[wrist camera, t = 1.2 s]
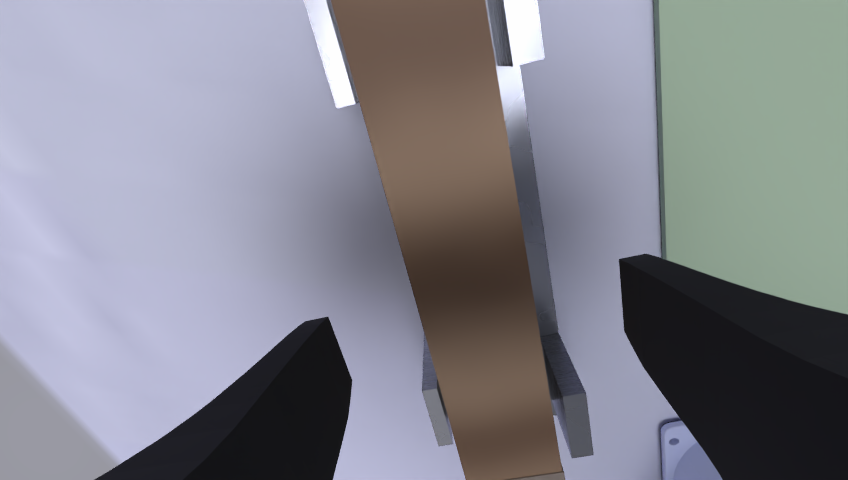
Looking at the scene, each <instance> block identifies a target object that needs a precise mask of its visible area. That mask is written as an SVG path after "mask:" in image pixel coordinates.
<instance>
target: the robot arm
mask: <svg viewBox="0 0 848 480" xmlns="http://www.w3.org/2000/svg"><path fill="white" fill-rule="evenodd" d="M619 266H620V279H621V293H622V306H623V319H624V331H625V333H626V335H627V337H628V339H629V341H630V343H631V345H632V347H633V349H634V351H635V353H636V354H637V356H638V358H639V360H640V362H641V364H642V365H643V367H644V369H645V370H646V371H647V373H648V374H649V376H650V377H651V378H652V380H653V381H654V383H655V384H656V385H657V387H658V388H659V390H660V391H661V392H662V394H663V395H664V397H665V398H666V399H667V401H668V402H669V403H670V405H671V406H672V408H673V409H674V410H675V412H676V413H677V414H678V416H679V417H680V419H681V420H682V421H677V422H670V423H667V424H665V425H664V426H663V427H662V428H661V449H662V472H663V480H848V314H844V313H839V312H835V311H831V310H826V309H822V308H818V307H813V306H809V305H806V304H802V303H798V302H794V301H790V300H787V299H783V298H780V297H777V296H773V295H770V294H767V293H763V292H760V291H756V290H753V289H750V288H747V287H744V286H741V285H737V284H734V283H731V282H728V281H725V280H723V279H720V278H717V277H714V276H711V275H708V274H705V273H702V272H700V271H697V270H694V269H691V268H688V267H686V266H683V265H680V264H677V263H674V262H671V261H668V260H665V259H662V258H659V257H656V256H652V255H648V254H643V255H638V256H633V257H628V258H622V259H619ZM351 387H352V379H351V376H350V374H349V371H348V368H347V366H346V363H345V360H344V358H343V355H342V352H341V350H340V347H339V344H338V342H337V339H336V336H335V334H334V331H333V328H332V326H331V323H330V320H329V318H328V317H325V318H320V319H315V320H310V321H305V322H304V323H302V324H301V325H300V326H298V327H297V328H296V329H295V330H293V331H292V332H291V333H290V334H289V335H287V336H286V337H285V338H284V339H283V340H282V341H281V342H280V343H278V344H277V345H276V346H275V347H274V348H273V349H272V350H271V351H270V352H268V353H267V354H266V355H265V356H264V357H263V358H262V359H261V360H259V361H258V362H257V363H256V364H255V365H254V366H253V367H252V368H250V369H249V370H248V371H247V372H246V373H245V374H244V375H242V376H241V377H240V378H239V379H238V380H236V381H235V382H234V383H233V384H232V385H230V386H229V387H228V388H227V389H226V390H224V391H223V392H222V393H221V394H220V395H218V396H217V397H216V398H215V399H214V400H212V401H211V402H210V403H209V404H207V405H206V406H205V407H203V408H202V409H201V410H199V411H198V412H197V413H195V414H194V415H193V416H192V417H190V418H189V419H187V420H186V421H185V422H183V423H182V424H180V425H179V426H178V427H176V428H175V429H173V430H172V431H171V432H169V433H168V434H166V435H165V436H163V437H162V438H160V439H159V440H158V441H156V442H154V443H153V444H151V445H150V446H148V447H146V448H145V449H143V450H142V451H140V452H139V453H137V454H135V455H134V456H132V457H131V458H129V459H128V460H126V461H124V462H123V463H121V464H120V465H118V466H117V467H115V468H113V469H112V470H110V471H109V472H107V473H105V474H104V475H102V476H100V477H98V478H97V479H95V480H333V476H334V472H335V468H336V464H337V461H338V457H339V453H340V449H341V445H342V441H343V437H344V433H345V428H346V424H347V420H348V414H349V406H350V397H351Z"/></svg>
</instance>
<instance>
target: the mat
mask: <svg viewBox="0 0 848 480" xmlns="http://www.w3.org/2000/svg"><path fill="white" fill-rule="evenodd" d="M654 29H655V58H656V88H657V117H658V146H659V175H660V205H661V234H662V259H665V260H668V261H671V262H674V263H677V264H680V265H683V266H686V267H688V268H691V269H694V270H697V271H700V272H702V273H705V274H708V275H711V276H714V277H717V278H720V279H723V280H725V281H728V282H731V283H734V284H737V285H741V286H744V287H747V288H750V289H753V290H756V291H760V292H763V293H767V294H770V295H773V296H777V297H780V298H783V299H787V300H790V301H794V302H798V303H802V304H806V305H809V306H813V307H818V308H822V309H826V310H831V311H835V312H839V313H844V314H848V0H654Z"/></svg>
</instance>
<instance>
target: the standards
mask: <svg viewBox="0 0 848 480" xmlns="http://www.w3.org/2000/svg"><path fill="white" fill-rule="evenodd" d="M485 2H486V8H487V15H488V21H489V27H490V33H491V39H492V45H493V51H494V57H495V63H496V70H497V76H498V82H499V88H500V94H501V100H502V106H503V112H504V119H505V125H506V131H507V137H508V143H509V149H510V155H511V161H512V167H513V174H514V180H515V186H516V192H517V198H518V204H519V210H520V216H521V223H522V229H523V235H524V241H525V247H526V253H527V259H528V265H529V271H530V278H531V284H532V290H533V296H534V302H535V308H536V314H537V320H538V327H539V333H540V339H541V345H542V351H543V357H544V363H545V369H546V375H547V382H548V388H549V394H550V400H551V406H552V412H553V415H557V417H558V420H559V423H560V425H561V428H562V431H563V434H564V437H565V440H566V443H567V446H568V449H569V451H570V454H571V457H572V458H577V457H584V456H591V455H593V447H592V438H591V430H590V422H589V414H588V406H587V398H586V392H585V390H584V388H583V386H582V383H581V381H580V379H579V377H578V375H577V372H576V370H575V368H574V366H573V364H572V362H571V359H570V357H569V355H568V353H567V351H566V348H565V346H564V344H563V342H562V340H561V338H560V335H559V333H558V327H557V320H556V313H555V306H554V299H553V292H552V285H551V278H550V271H549V265H548V258H547V251H546V244H545V237H544V230H543V223H542V216H541V209H540V202H539V195H538V188H537V181H536V174H535V167H534V160H533V153H532V147H531V140H530V133H529V126H528V119H527V112H526V105H525V98H524V91H523V84H522V77H521V70H520V65H522V64H526V63H530V62H534V61H538V60H542V59H545V57H544V49H543V41H542V33H541V25H540V17H539V9H538V0H485ZM304 3H305V6H306V10H307V13H308V16H309V19H310V23H311V26H312V29H313V33H314V36H315V39H316V43H317V46H318V49H319V52H320V56H321V59H322V62H323V66H324V69H325V72H326V76H327V79H328V82H329V86H330V89H331V92H332V95H333V99H334V102H335V105H336V109H337V108H341V107H345V106H349V105H353V104H356V103H358V102H359V99H358V95H357V92H356V88H355V85H354V81H353V78H352V74H351V70H350V67H349V63H348V60H347V56H346V53H345V49H344V46H343V42H342V39H341V35H340V31H339V28H338V24H337V21H336V17H335V14H334V10H333V7H332V3H331V0H304ZM422 393H423V396H424V399H425V403H426V406H427V409H428V412H429V416H430V419H431V422H432V426H433V429H434V432H435V436H436V439H437V442H438V445H439V446H444V445H450V444H453V439H452V429H451V425H450V421H449V418H448V414H447V411H446V407H445V404H444V400H443V397H442V393H441V390H440V386H439V382H438V379H437V375H436V372H435V368H434V365H433V361H432V358H431V354H430V351H429V347H428V343H427V340H426V336H425V333H424V353H423V379H422Z"/></svg>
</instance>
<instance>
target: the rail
mask: <svg viewBox="0 0 848 480" xmlns="http://www.w3.org/2000/svg"><path fill="white" fill-rule="evenodd" d="M331 3H332V7H333V10H334V14H335V17H336V21H337V24H338V28H339V31H340V35H341V39H342V42H343V46H344V49H345V53H346V56H347V60H348V63H349V67H350V70H351V74H352V78H353V81H354V85H355V88H356V92H357V95H358V99H359V102H360V106H361V109H362V113H363V117H364V120H365V124H366V127H367V131H368V134H369V138H370V141H371V145H372V148H373V152H374V156H375V159H376V163H377V166H378V170H379V173H380V177H381V180H382V184H383V187H384V191H385V195H386V198H387V202H388V205H389V209H390V212H391V216H392V219H393V223H394V226H395V230H396V234H397V237H398V241H399V244H400V248H401V251H402V255H403V258H404V262H405V265H406V269H407V273H408V276H409V280H410V283H411V287H412V290H413V294H414V297H415V301H416V304H417V308H418V312H419V315H420V319H421V322H422V326H423V329H424V333H425V336H426V340H427V343H428V347H429V351H430V354H431V358H432V361H433V365H434V368H435V372H436V375H437V379H438V382H439V386H440V390H441V393H442V397H443V400H444V404H445V407H446V411H447V414H448V418H449V421H450V425H451V429H452V432H453V436H454V439H455V443H456V446H457V450H458V453H459V457H460V460H461V464H462V468H463V471H464V475H465V478H466V480H565V476H564V471H563V468H562V465H561V461H560V455H559V449H558V443H557V437H556V431H555V424H554V418H553V412H552V406H551V400H550V394H549V388H548V382H547V375H546V369H545V363H544V357H543V351H542V345H541V339H540V333H539V327H538V320H537V314H536V308H535V302H534V296H533V290H532V284H531V278H530V271H529V265H528V259H527V253H526V247H525V241H524V235H523V229H522V223H521V216H520V210H519V204H518V198H517V192H516V186H515V180H514V174H513V167H512V161H511V155H510V149H509V143H508V137H507V131H506V125H505V119H504V112H503V106H502V100H501V94H500V88H499V82H498V76H497V70H496V63H495V57H494V51H493V45H492V39H491V33H490V27H489V21H488V15H487V8H486V2H485V0H331Z"/></svg>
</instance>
